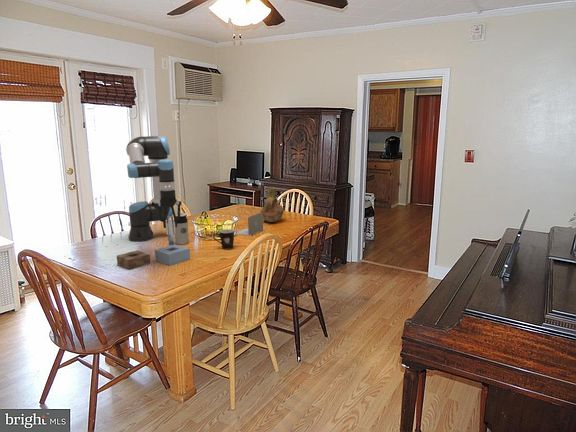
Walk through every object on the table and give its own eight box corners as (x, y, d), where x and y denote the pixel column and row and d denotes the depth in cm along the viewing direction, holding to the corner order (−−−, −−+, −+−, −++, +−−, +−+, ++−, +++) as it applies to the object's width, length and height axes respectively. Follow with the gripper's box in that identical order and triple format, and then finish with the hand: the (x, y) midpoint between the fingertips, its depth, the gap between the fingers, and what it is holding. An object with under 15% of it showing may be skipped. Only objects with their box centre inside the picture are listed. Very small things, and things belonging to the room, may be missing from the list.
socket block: (155, 260, 222) (154, 249, 221) (175, 254, 232) (175, 244, 230) (169, 265, 214) (168, 254, 212) (190, 259, 223) (189, 248, 222)
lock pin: (167, 244, 221) (165, 217, 217) (172, 243, 223) (170, 216, 220) (170, 245, 219) (168, 217, 215) (176, 244, 221) (174, 216, 218)
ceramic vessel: (286, 217, 320) (285, 185, 315) (281, 225, 295) (280, 190, 289) (264, 217, 322) (263, 185, 317) (257, 224, 297) (256, 190, 292)
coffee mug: (237, 246, 246) (236, 229, 244) (230, 250, 238) (230, 233, 236) (220, 244, 250) (219, 228, 248) (213, 248, 242) (212, 232, 240)
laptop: (248, 228, 290) (247, 210, 287) (263, 230, 284) (263, 211, 281) (233, 234, 274) (232, 215, 271) (249, 236, 268) (248, 217, 266)
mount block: (117, 264, 216) (116, 255, 215) (138, 259, 225) (137, 250, 224) (129, 269, 208) (128, 260, 207) (150, 263, 217) (149, 254, 216)
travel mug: (175, 242, 257) (172, 213, 253) (188, 240, 259) (186, 212, 255) (176, 245, 249) (174, 216, 245) (189, 243, 252) (187, 215, 248)
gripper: (151, 191, 208) (155, 236, 213) (184, 189, 214) (187, 233, 219) (150, 189, 215) (154, 233, 220) (182, 187, 221) (185, 230, 226)
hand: (170, 233), depth 219 cm, fingers closed on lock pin, 3 cm apart
